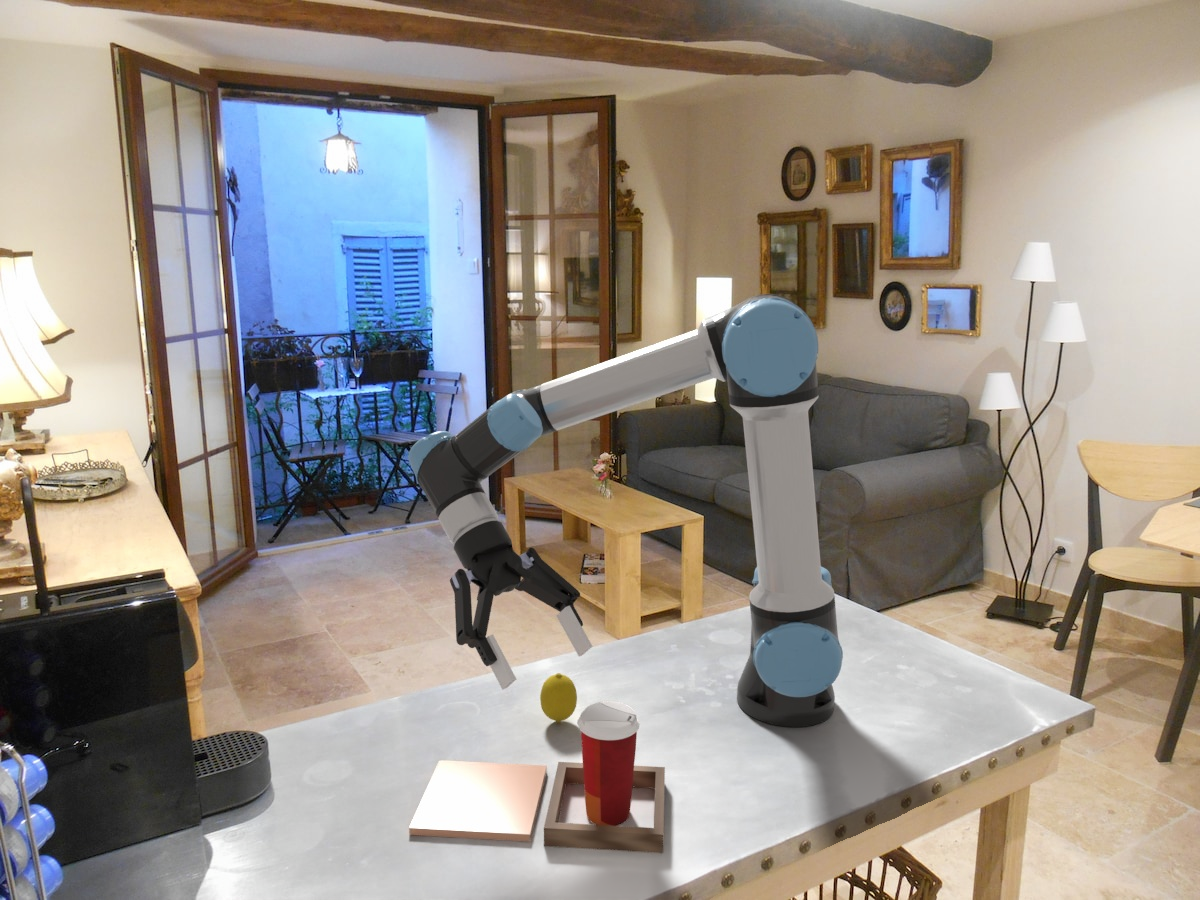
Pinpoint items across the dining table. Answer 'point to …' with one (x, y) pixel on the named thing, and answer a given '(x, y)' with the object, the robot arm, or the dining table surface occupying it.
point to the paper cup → (608, 760)
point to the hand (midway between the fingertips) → (549, 667)
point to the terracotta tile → (480, 801)
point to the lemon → (558, 697)
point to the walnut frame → (605, 834)
